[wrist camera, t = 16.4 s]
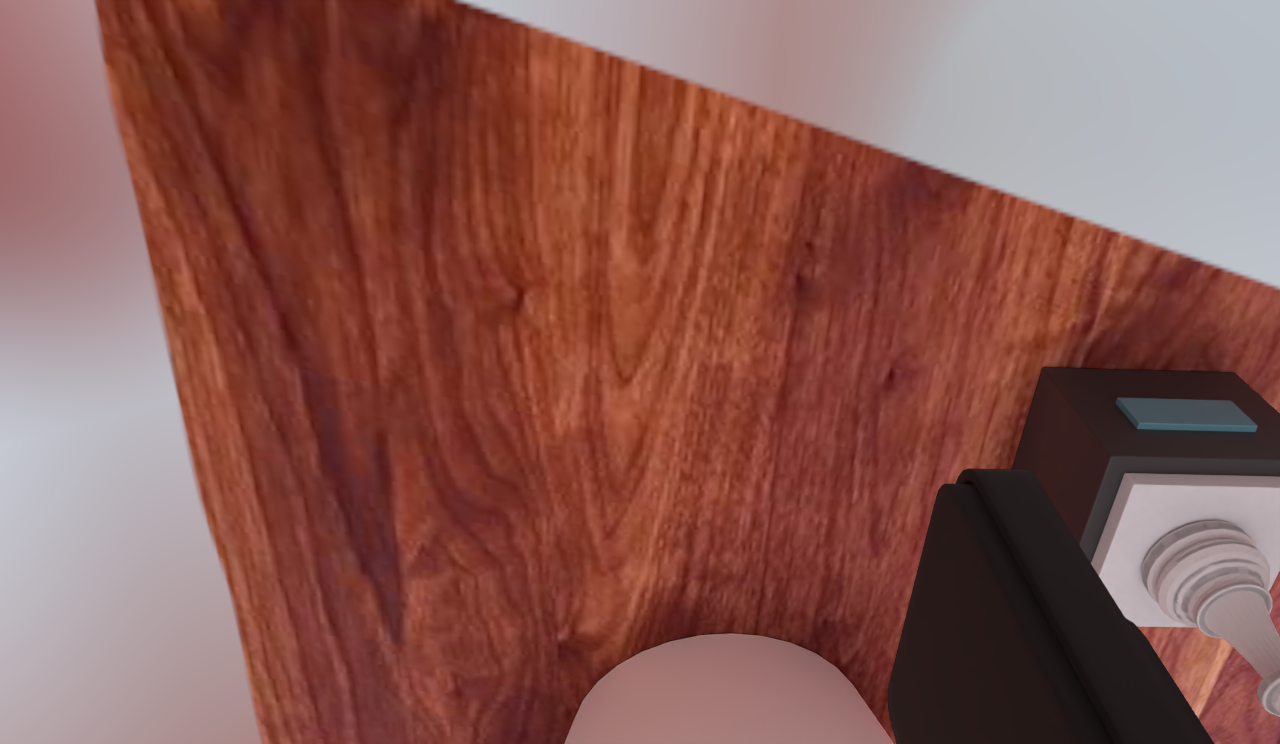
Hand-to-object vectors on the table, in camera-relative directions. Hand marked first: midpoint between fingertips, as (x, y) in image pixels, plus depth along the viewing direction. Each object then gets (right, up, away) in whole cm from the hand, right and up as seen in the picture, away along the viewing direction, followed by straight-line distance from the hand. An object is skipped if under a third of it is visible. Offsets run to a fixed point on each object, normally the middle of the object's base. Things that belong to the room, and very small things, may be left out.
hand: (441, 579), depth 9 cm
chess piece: (+25, -6, +30) cm, 39 cm away
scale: (+24, -2, +37) cm, 44 cm away
